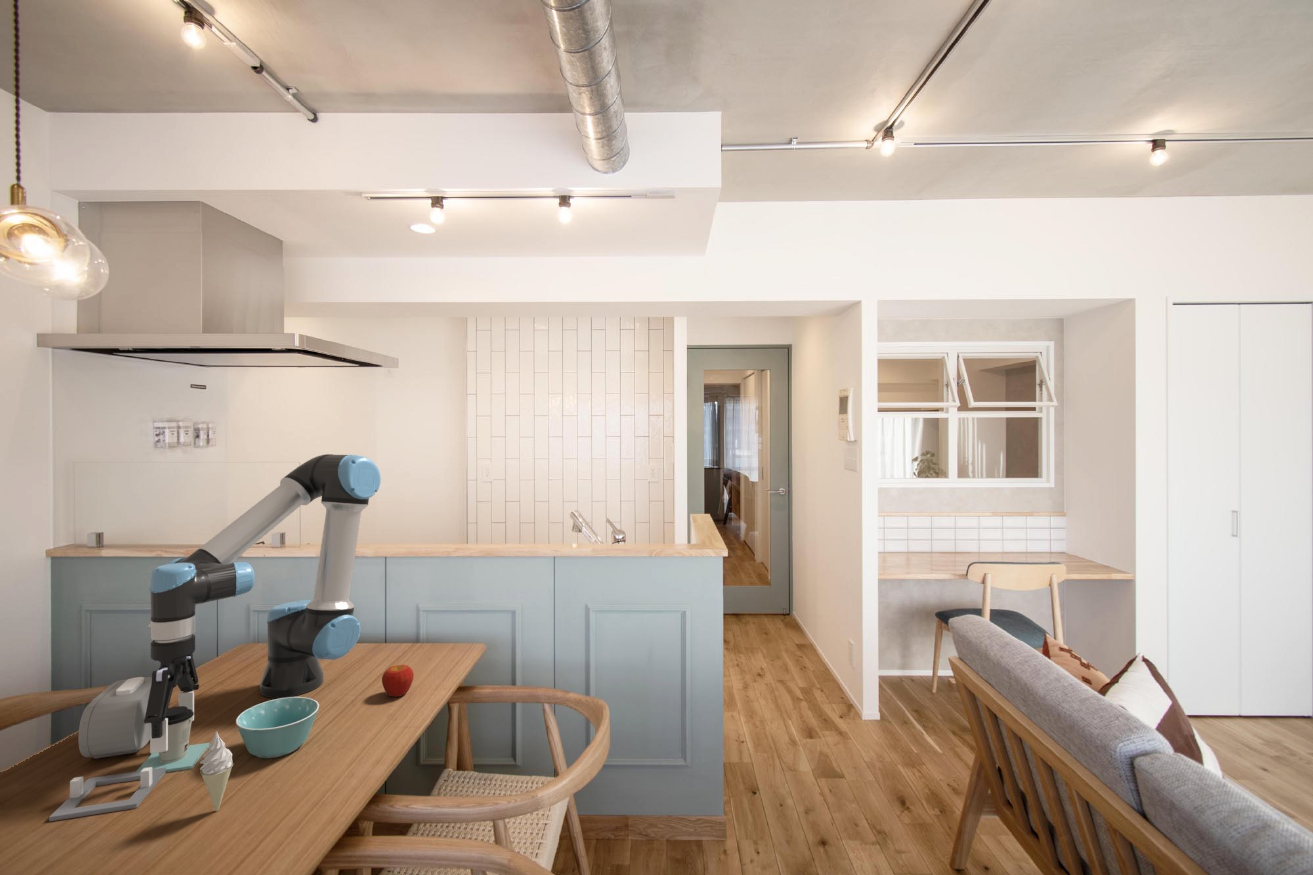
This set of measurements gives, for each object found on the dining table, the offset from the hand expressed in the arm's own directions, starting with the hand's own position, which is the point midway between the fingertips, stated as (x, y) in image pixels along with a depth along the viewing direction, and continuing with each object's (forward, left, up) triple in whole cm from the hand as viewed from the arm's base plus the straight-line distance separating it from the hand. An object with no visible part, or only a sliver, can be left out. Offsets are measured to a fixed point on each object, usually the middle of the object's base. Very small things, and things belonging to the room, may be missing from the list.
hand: (173, 735), depth 131 cm
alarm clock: (+13, -12, -6) cm, 19 cm away
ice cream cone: (-15, +23, -6) cm, 28 cm away
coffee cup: (0, 0, -5) cm, 5 cm away
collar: (+6, +11, -5) cm, 14 cm away
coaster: (0, 0, -5) cm, 5 cm away
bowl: (-20, +1, -6) cm, 21 cm away
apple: (-43, -21, -6) cm, 48 cm away
